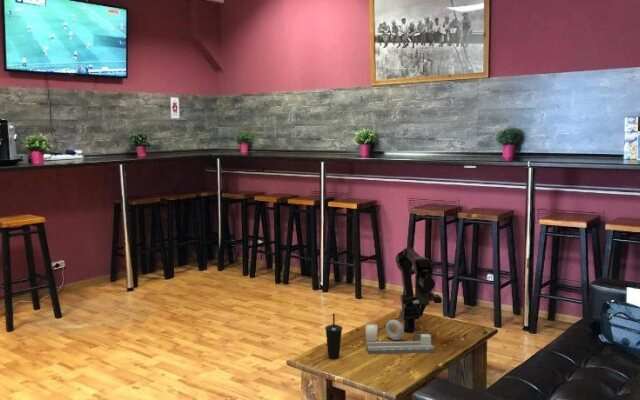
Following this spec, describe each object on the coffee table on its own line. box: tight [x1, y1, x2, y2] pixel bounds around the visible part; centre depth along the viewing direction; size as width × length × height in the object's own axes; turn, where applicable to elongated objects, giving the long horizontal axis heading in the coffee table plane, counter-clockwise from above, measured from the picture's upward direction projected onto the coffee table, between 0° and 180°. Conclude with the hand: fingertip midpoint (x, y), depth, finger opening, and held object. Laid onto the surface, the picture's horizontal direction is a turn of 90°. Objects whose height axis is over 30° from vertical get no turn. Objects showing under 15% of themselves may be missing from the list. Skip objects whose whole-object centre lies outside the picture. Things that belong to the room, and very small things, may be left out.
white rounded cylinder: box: [365, 323, 378, 343], centre depth 286 cm, size 6×6×7 cm
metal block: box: [413, 330, 427, 342], centre depth 285 cm, size 5×5×4 cm
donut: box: [384, 319, 405, 341], centre depth 286 cm, size 10×4×10 cm, turn 50°
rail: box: [365, 341, 435, 355], centre depth 273 cm, size 8×30×3 cm, turn 93°
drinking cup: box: [324, 313, 343, 360], centre depth 264 cm, size 8×8×20 cm
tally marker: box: [420, 333, 432, 346], centre depth 274 cm, size 4×4×5 cm
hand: (420, 316), depth 284 cm, fingers closed
